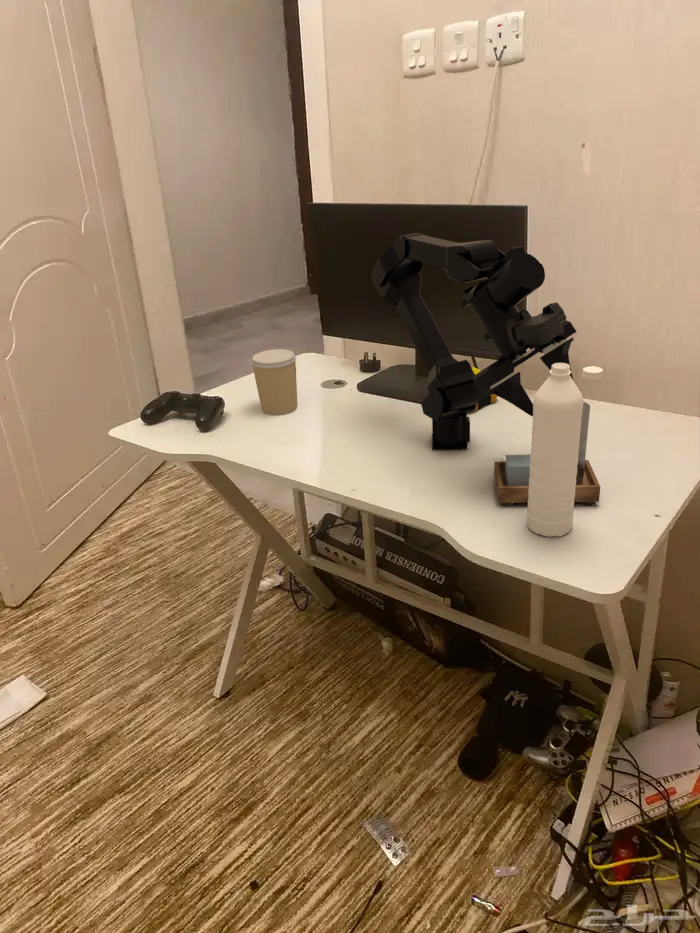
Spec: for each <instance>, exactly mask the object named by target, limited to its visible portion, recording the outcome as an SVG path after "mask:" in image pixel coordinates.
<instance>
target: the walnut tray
mask: <svg viewBox="0 0 700 933" xmlns="http://www.w3.org/2000/svg"><path fill="white" fill-rule="evenodd" d="M505 462H506V460H503V461H502V460H501V461H500V460H499V461H497V460H496V461H495V460H494V462H493V464H494V468H493V473H494V474H493V476H494V482H495V488H496V493H497V499H498V503H499V505H500V506H502V507H510V506H513V503H519V504H520V503H528V498H529V496H528V490H529V486H507V485H506V480H505ZM593 469H594V468H592V465H591V462H590V461H589V460H588V459H585V467H584V477H583V485H576V486H575V498H574V503H582V504H583V505H584V506H589V507H591V506H595V505H596V503H598V502H600V494H601V485H600V482H599V481H598V478H597V476H596V474H595V472H594V470H593Z"/></svg>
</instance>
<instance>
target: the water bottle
mask: <svg viewBox="0 0 700 933" xmlns="http://www.w3.org/2000/svg"><path fill="white" fill-rule="evenodd" d="M570 367H571V365H570V366H569V365H568V364H566V363H555V364H553V365H552V367H551V370H550V369H549V374H550V375H549V376H548V377H547V379H546V380H544V382H543V383H542V385H541V386H540V387H539V388H538V390H536V392H535V394H534V398H533V401H532V403H533V417H532V427H531V442H530V443H531V444H530V446H531V448H530V454H529V455H530V461H531V463H530V477H529V490H528V496H529V498H528V502H527V513H526V525H527V527H528V529H529V530H530V531H531V532H532V533H534V534H536V535H542V536H543V537H547V538H548V537H549V538H553V537H562V536H564V535H566V534H569V533H570V531H571V530H572V529H573V519H574V508H575V502H574V498H575V486H576V476H577V464H578V454H579V442H580V431H581V420H582V411H583V402H584V398H583V394H582V392H581V391H580V389H579V388H578V386H577V384H576V383H575V382H574V379H573V380H572V378H571V377H570V373H571V372H572V370H571V371H570V369H569V368H570ZM603 374H604V370H603V368H602V367H599V366H586V367H584V368H582V378H584V379H586V380H594V381H595V380H600V379H602V378H603V376H604V375H603Z"/></svg>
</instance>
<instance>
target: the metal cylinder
mask: <svg viewBox="0 0 700 933" xmlns="http://www.w3.org/2000/svg"><path fill="white" fill-rule="evenodd" d="M590 412H591V405H590V404H589V403H588V402H586V401H583V411H582V420H581V431H580V442H579V454H578V464H577V476H576V485H583V477H584V467H585V460H586V457H587V456H586V455H587V453H586V452H587V447H588V446H587V444H588V432H589V424H590V414H591V413H590Z"/></svg>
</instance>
